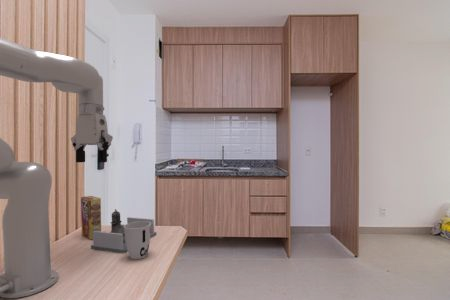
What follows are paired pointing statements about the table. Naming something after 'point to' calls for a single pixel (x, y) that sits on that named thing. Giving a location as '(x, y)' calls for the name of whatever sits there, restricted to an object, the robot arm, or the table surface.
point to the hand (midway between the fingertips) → (91, 162)
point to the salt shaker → (116, 224)
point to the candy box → (90, 215)
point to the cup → (137, 238)
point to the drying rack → (116, 238)
